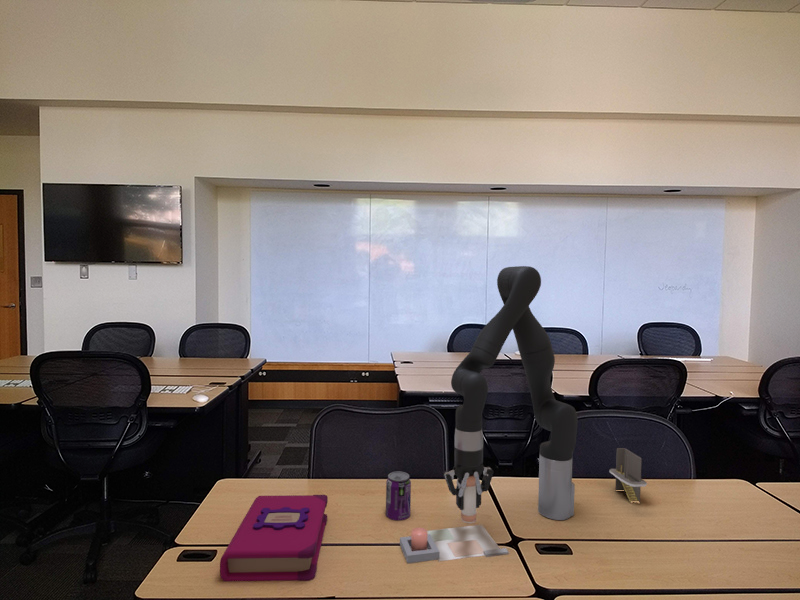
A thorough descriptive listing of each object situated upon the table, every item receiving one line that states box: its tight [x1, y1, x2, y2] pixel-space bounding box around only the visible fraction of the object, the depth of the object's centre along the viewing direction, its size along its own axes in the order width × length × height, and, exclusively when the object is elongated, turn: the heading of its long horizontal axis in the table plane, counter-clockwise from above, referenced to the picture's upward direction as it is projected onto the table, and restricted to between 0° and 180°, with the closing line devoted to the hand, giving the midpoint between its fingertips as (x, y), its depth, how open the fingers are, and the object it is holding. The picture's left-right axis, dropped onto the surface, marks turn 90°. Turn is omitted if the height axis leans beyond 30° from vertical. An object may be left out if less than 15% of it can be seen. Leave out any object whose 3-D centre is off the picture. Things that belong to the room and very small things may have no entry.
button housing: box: [399, 534, 440, 564], centre depth 114 cm, size 8×8×2 cm
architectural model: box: [609, 447, 648, 503], centre depth 146 cm, size 20×25×15 cm
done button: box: [410, 527, 428, 551], centre depth 114 cm, size 4×4×4 cm
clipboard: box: [427, 524, 510, 562], centre depth 119 cm, size 20×16×1 cm
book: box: [219, 494, 329, 582], centre depth 117 cm, size 21×28×8 cm
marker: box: [460, 476, 477, 524], centre depth 123 cm, size 4×4×12 cm
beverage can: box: [385, 471, 412, 521], centre depth 132 cm, size 7×7×12 cm
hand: (468, 507), depth 123 cm, fingers closed on marker, 4 cm apart
